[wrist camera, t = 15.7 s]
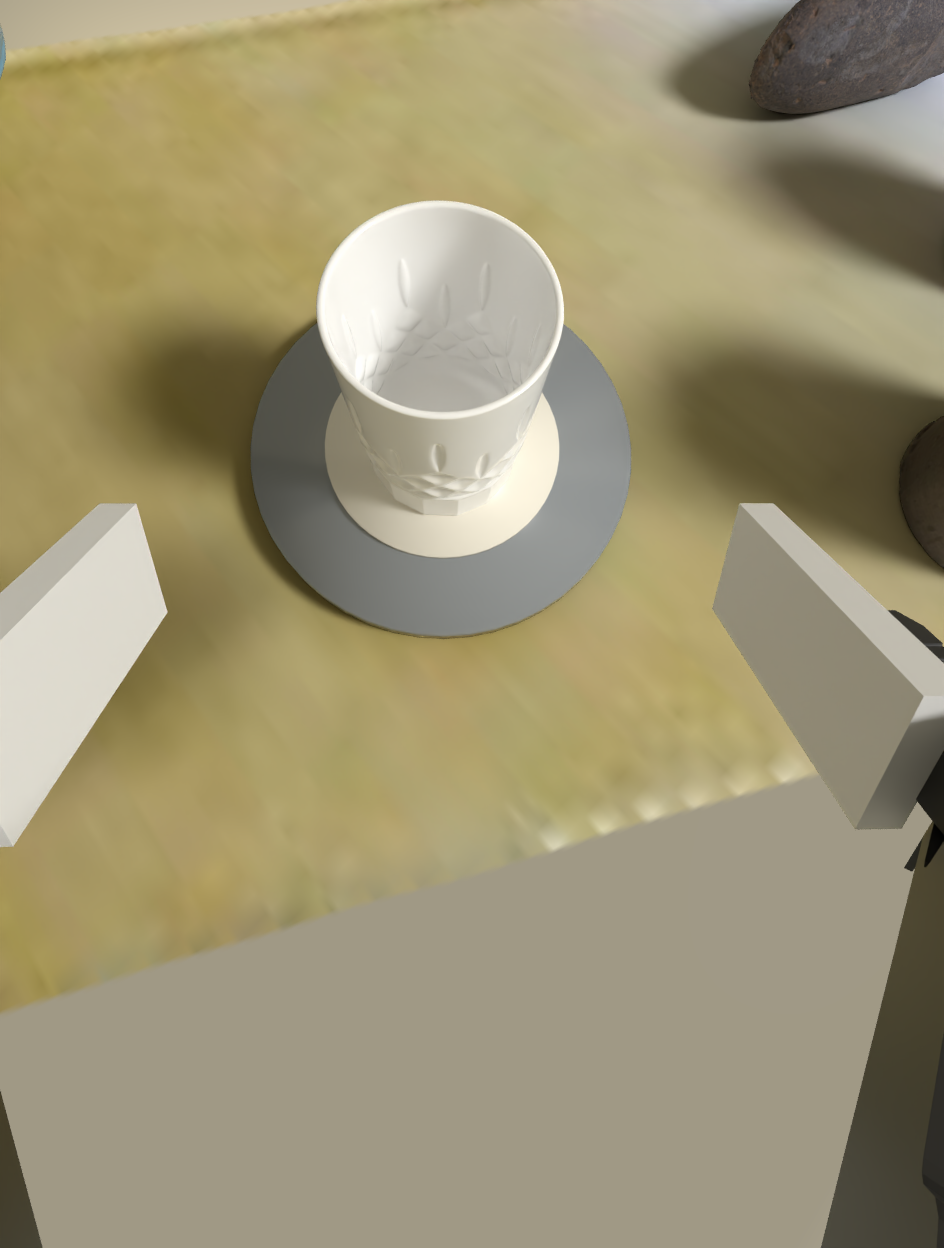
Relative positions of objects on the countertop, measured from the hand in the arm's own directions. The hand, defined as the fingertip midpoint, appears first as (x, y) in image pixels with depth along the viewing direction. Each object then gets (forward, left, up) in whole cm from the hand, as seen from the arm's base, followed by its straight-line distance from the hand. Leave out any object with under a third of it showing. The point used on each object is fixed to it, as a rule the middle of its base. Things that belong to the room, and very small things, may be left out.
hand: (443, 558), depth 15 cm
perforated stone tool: (-7, +40, -16) cm, 44 cm away
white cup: (-7, +7, -14) cm, 17 cm away
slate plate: (-7, +7, -16) cm, 19 cm away
